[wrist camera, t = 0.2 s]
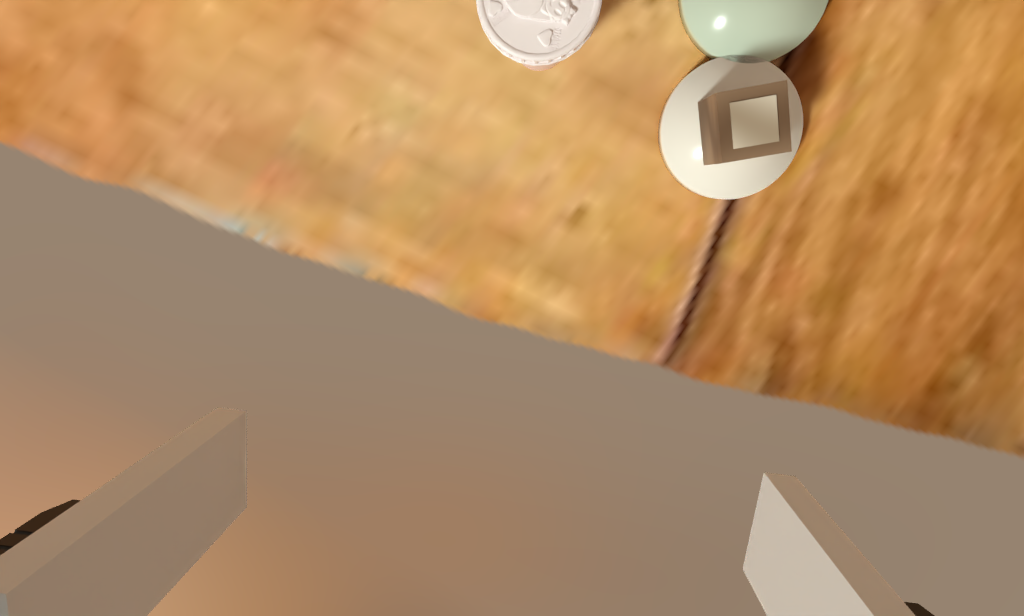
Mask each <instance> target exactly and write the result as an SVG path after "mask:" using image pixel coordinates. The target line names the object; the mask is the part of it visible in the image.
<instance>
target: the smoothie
mask: <svg viewBox="0 0 1024 616" xmlns="http://www.w3.org/2000/svg"><path fill="white" fill-rule="evenodd" d="M476 3H477V12H478V15H479V19H480V22H481V25H482V28H483V30H484V32H485V33H486V35H487V37H488V38H489V40H490V42H491V43H492V44H493V45H494V46H495V47H496V48H497V49H498V50H499V51H500V52H501V53H502V54H503V55H505V56H507V57H508V58H510V59H512V60H514V61H516V62H518V63H521V64H523V65H524V66H525V67H527V68H529V69H532V70H536V71H543V70H547V69H550V68H552V67H554V66H555V65H556V64H558V63H559V62H560V61H562V60H565V59H566V58H568V57H569V56H571V55H572V54H574V53H575V52H576V51H578V50H579V49H580V48H581V47H582V46H583V44H584V43H585V42H586V41H587V40H588V39H589V37H590V36H591V34H592V32H593V30H594V28H595V26H596V24H597V22H598V19H599V14H600V10H601V6H602V0H476Z"/></svg>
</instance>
